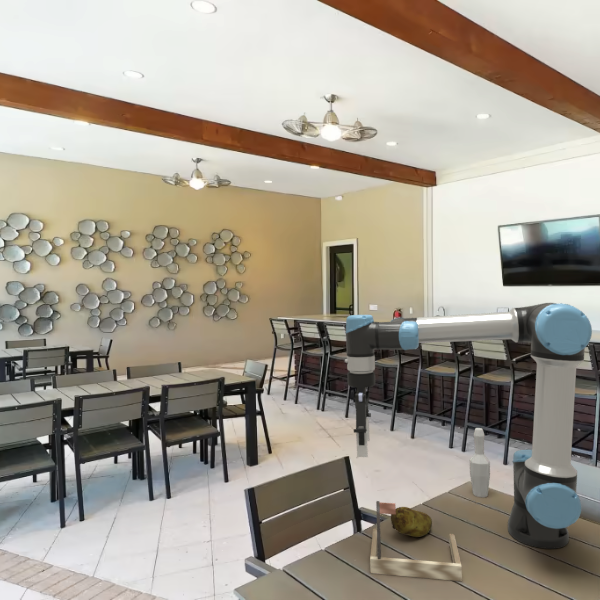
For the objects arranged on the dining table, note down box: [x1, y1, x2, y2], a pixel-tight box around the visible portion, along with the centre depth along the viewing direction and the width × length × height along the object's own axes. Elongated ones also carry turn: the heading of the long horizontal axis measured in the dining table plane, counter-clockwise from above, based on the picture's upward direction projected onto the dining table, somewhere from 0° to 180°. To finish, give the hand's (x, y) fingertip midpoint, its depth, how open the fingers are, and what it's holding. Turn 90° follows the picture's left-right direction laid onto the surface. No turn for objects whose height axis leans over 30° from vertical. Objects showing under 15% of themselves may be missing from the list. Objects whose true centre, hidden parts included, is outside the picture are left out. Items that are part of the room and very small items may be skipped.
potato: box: [390, 506, 433, 538], centre depth 134 cm, size 8×13×8 cm, turn 98°
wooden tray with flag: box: [369, 500, 463, 582], centre depth 122 cm, size 21×15×18 cm
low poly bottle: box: [469, 427, 491, 498], centre depth 159 cm, size 6×6×22 cm
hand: (363, 448), depth 131 cm, fingers open, 13 cm apart
